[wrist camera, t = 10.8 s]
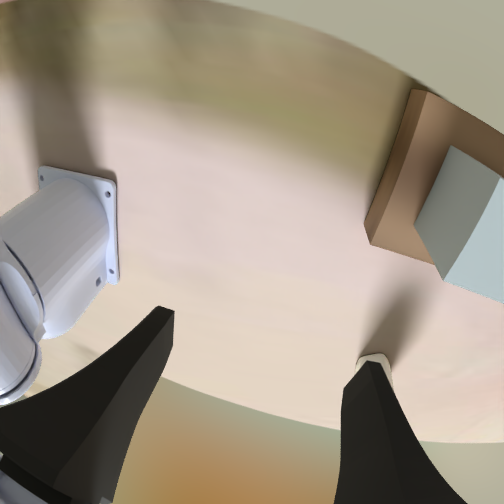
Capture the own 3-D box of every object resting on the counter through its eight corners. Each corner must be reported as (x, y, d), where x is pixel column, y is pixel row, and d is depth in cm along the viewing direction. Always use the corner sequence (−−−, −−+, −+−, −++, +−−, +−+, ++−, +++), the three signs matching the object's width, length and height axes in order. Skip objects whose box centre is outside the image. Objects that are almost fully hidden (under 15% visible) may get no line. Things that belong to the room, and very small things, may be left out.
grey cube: (474, 252, 15) (508, 305, 11) (413, 225, 15) (443, 280, 11) (510, 183, 12) (559, 223, 8) (450, 144, 12) (500, 177, 8)
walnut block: (465, 256, 19) (481, 280, 16) (362, 220, 19) (370, 244, 16) (515, 148, 14) (540, 161, 11) (409, 88, 14) (427, 91, 11)
